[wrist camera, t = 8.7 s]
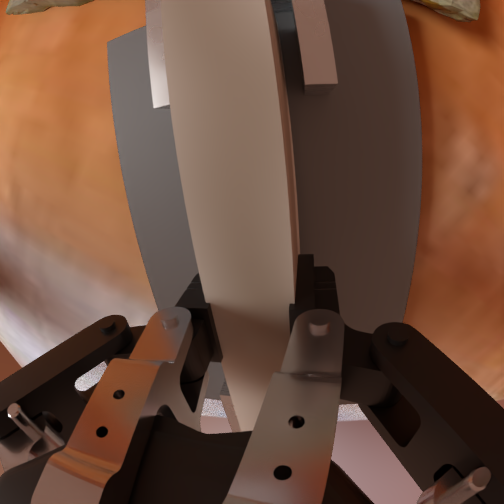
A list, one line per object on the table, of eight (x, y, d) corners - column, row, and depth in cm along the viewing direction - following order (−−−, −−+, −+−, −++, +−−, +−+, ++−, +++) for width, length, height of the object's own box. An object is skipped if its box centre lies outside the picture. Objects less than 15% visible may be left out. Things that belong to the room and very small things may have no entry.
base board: (197, 382, 21) (192, 396, 20) (123, 46, 11) (107, 42, 10) (375, 386, 18) (378, 401, 17) (392, 10, 8) (400, -1, 7)
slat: (263, 394, 17) (250, 459, 12) (216, 33, 9) (160, -14, 4) (301, 395, 16) (295, 462, 12) (277, 23, 8) (257, -38, 4)
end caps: (242, 402, 19) (233, 435, 16) (177, 14, 9) (145, -7, 6) (324, 405, 18) (323, 439, 15) (312, -7, 8) (313, -40, 5)
